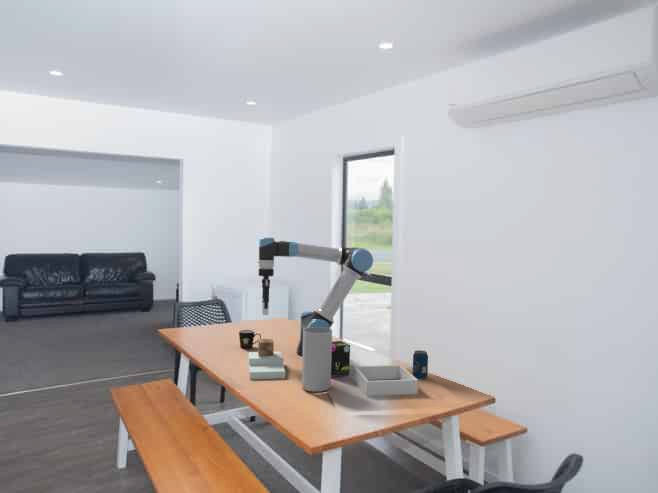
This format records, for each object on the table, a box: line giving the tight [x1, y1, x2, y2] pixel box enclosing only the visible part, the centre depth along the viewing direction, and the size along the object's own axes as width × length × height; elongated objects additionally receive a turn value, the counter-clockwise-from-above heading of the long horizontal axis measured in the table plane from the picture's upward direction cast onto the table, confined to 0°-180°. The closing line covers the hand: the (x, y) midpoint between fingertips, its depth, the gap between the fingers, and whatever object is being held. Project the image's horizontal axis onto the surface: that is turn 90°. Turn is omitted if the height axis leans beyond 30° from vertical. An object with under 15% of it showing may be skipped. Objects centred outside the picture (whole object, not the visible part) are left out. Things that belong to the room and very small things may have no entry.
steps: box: [247, 351, 286, 380], centre depth 229 cm, size 16×23×6 cm
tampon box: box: [331, 340, 351, 379], centre depth 227 cm, size 11×9×15 cm
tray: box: [352, 364, 419, 397], centre depth 211 cm, size 22×22×6 cm
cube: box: [257, 338, 275, 357], centre depth 234 cm, size 7×7×7 cm
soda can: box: [412, 350, 429, 380], centre depth 226 cm, size 7×7×12 cm
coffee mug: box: [238, 329, 262, 350], centre depth 269 cm, size 12×9×10 cm
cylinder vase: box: [301, 327, 333, 393], centre depth 207 cm, size 12×12×25 cm
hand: (265, 313), depth 243 cm, fingers open, 6 cm apart
